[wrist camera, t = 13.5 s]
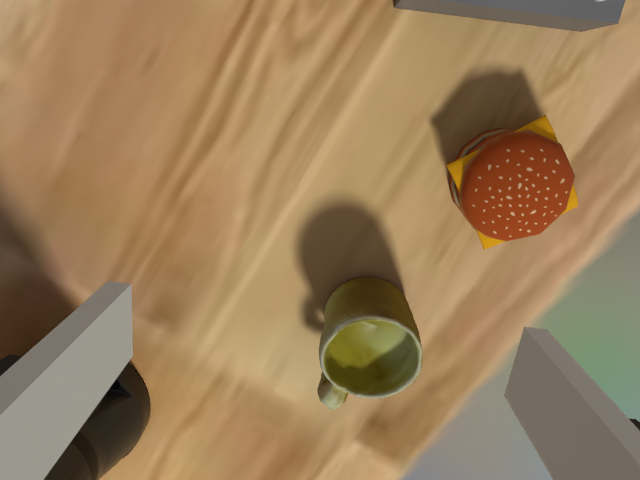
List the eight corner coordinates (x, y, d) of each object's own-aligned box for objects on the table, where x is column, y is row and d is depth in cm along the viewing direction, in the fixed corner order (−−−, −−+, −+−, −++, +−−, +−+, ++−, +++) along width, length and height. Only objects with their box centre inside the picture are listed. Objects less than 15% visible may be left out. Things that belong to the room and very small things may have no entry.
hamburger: (523, 105, 40) (560, 108, 34) (561, 196, 43) (602, 215, 37) (427, 158, 42) (446, 171, 35) (469, 243, 44) (494, 269, 38)
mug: (363, 242, 42) (382, 324, 35) (427, 292, 47) (456, 374, 40) (276, 309, 47) (275, 394, 40) (342, 348, 52) (353, 430, 45)
